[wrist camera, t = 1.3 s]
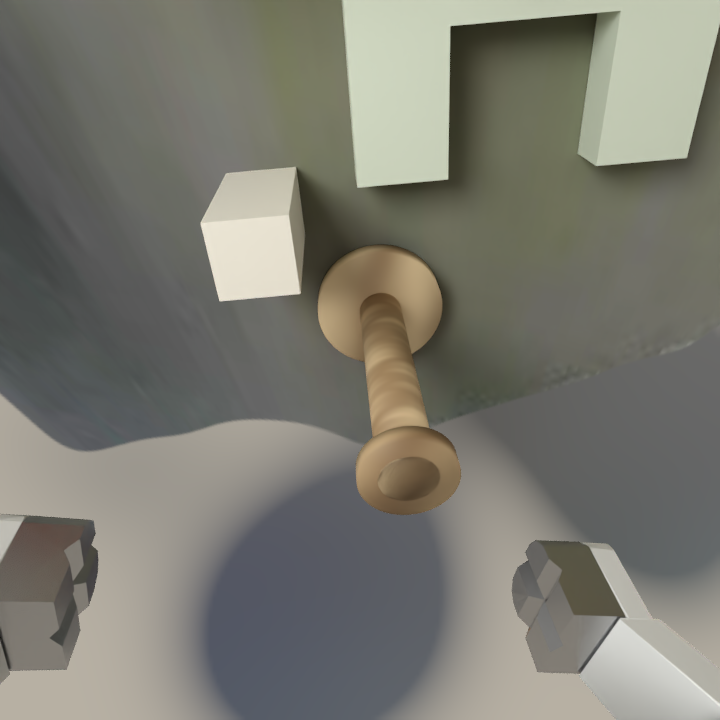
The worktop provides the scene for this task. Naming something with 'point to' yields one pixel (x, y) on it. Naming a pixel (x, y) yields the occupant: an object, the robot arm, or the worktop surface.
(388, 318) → the bobbin post
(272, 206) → the block
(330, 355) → the worktop surface
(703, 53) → the notched board
